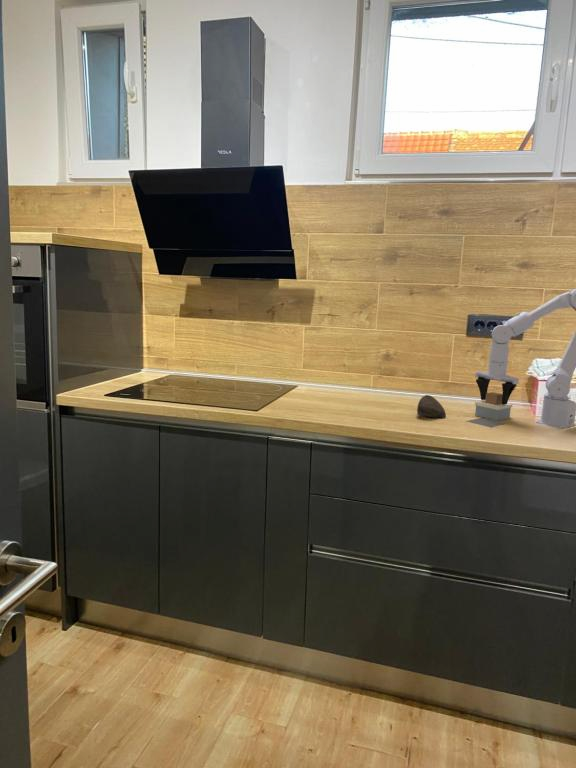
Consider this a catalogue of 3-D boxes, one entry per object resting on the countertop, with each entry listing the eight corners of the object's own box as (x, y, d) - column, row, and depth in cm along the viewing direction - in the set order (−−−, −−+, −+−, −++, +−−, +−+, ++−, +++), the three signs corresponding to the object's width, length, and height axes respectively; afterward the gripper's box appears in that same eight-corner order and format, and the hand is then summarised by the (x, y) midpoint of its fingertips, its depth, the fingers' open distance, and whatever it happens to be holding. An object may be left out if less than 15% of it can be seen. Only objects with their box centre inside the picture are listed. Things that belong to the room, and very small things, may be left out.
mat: (506, 424, 182) (506, 423, 182) (491, 428, 176) (491, 427, 176) (481, 418, 188) (481, 417, 188) (465, 422, 183) (465, 421, 183)
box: (509, 418, 190) (510, 407, 190) (496, 421, 185) (497, 409, 185) (487, 413, 196) (489, 402, 196) (474, 416, 191) (476, 405, 191)
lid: (512, 407, 190) (513, 394, 189) (498, 410, 184) (499, 397, 183) (488, 402, 196) (490, 390, 195) (474, 404, 191) (476, 392, 190)
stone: (434, 424, 194) (414, 402, 195) (453, 410, 189) (432, 388, 190) (425, 435, 186) (405, 411, 187) (444, 420, 181) (423, 396, 182)
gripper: (525, 364, 185) (520, 404, 187) (484, 358, 195) (480, 396, 198) (514, 365, 180) (509, 407, 182) (473, 359, 191) (469, 398, 193)
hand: (493, 401), depth 190 cm, fingers open, 7 cm apart
